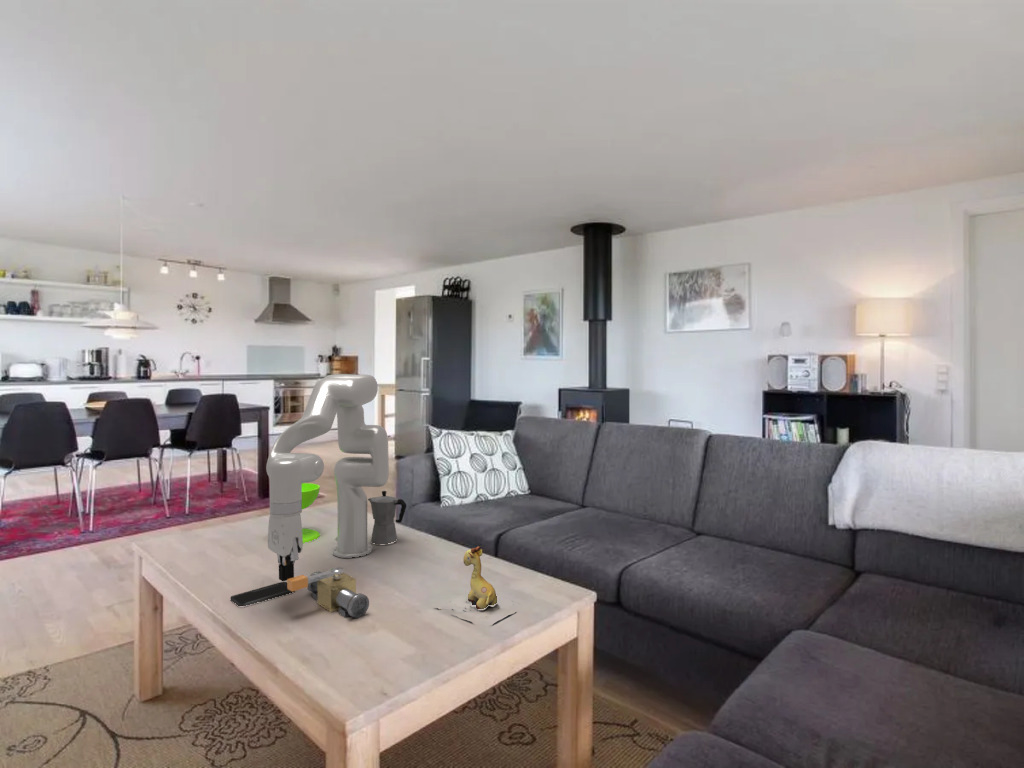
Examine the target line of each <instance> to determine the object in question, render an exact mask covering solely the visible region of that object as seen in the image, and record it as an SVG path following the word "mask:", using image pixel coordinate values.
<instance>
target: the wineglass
mask: <svg viewBox="0 0 1024 768" xmlns="http://www.w3.org/2000/svg"><path fill="white" fill-rule="evenodd" d="M320 489H321V486H320V484H316V483H312V482H307V483H302V510H304V509H306V508H308V507H310V506H311V505H312V504H314V502H315V501H316V500H317V498H318V496H319V494H320ZM319 536H320V537H321V534H320V532H319V531H317V530H315V529H310V528H302V537H303V544H306V543H305V542H308V543H310V542H309V541H311V542H313V541H312V540H314V539H316V540H318V539H319V538H320V537H319ZM318 537H319V538H318ZM317 538H318V539H317ZM314 541H315V540H314Z"/></svg>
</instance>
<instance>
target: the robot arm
mask: <svg viewBox="0 0 1024 768" xmlns="http://www.w3.org/2000/svg"><path fill="white" fill-rule="evenodd" d="M378 386H379V384H378V382H377V379H376V378H375V377H374V376H373V375H371V374H351V373H350V374H349V373H344V374H343V373H342V374H341V373H339V374H338V373H335V374H328V375H326V376H324V377H323V378H321V379H320V380H317V382H316V383H315V384H314V386H313V389H312V391H311V393H310V395H309V399H308V401H307V404H306V406H305V409H304V411H303V413H302V416H301V418H300V419H299V420H297V421H296V422H294V423H293V424H291V425H290V426H289V427H287V428H286V429H285V430H284V431H283V432H282V433H281V434H280V435H278V436H277V438H276V439H275V441H274V443H273V446H272V447H271V450H270V453H269V455H268V458H267V462H266V465H265V466H266V469H265V470H266V474H267V476H268V478H269V517H268V518H269V519H268V527H267V532H268V533H267V548H268V550H270V552H272V553H275V554H276V555H277V563H278V580H279V581H280V582H287V579H289V578H293V577H295V561H298V560H299V554H300V553H302V551H303V544H304V543H303V537H302V529H303V526H302V525H303V524H302V523H303V522H302V517H301V514H302V513H303V509H302V483H312V482H316V480H319V478H320V477H321V476H322V475H323V473H324V469H325V464H324V461H323V458H322V457H321V456H319V455H318V454H315V453H310V452H309V453H306V452H305V453H303V452H302V453H301V452H292V451H293V450H294V449H295V448H296V447H298V446H299V445H301V444H302V443H305V442H307V441H311V440H313V439H315V438H318V437H320V436H323V435H326V434H327V433H329V432H330V431H331V429H332V427H333V424H334V421H335V418H336V421H337V423H336V425H337V443H338V448H339V450H340V451H341V453H344V454H350V455H351V454H353V455H370V457H364V456H347V457H342V458H339V460H337V461H336V463H335V464H334V469H333V471H334V472H333V474H334V475H333V476H334V480H335V487H336V494H337V495H336V496H337V499H336V500H337V501H336V502H337V536H336V537H335V538H334V541H336V542H337V546H335V547H334V548H332V549H333V550H332V555H333V556H335V557H336V558H341V559H342V558H344V559H353V558H352V557H355V558H360V557H359V556H361V557H364V556H366V554H367V555H369V554H371V552H372V551H373V546H372V544H369V543H368V497H367V494H366V493H365V491H364V489H363V487H366V488H369V487H371V488H376V487H377V488H380V487H384V486H385V485H386V484H387V483H388V480H389V475H390V474H389V472H390V470H389V469H390V468H389V467H390V465H389V463H390V461H389V458H390V457H389V440H388V439H389V437H388V432H387V430H386V429H385V428H384V427H383V426H381V425H379V424H378V425H377V424H366V422H365V410H364V408H363V407H364V405H366V404H369V403H370V402H372V401H373V400H374V399H375V398H376V396H377V394H378V391H379V388H378Z"/></svg>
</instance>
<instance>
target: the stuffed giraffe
mask: <svg viewBox="0 0 1024 768" xmlns="http://www.w3.org/2000/svg"><path fill="white" fill-rule="evenodd" d="M482 555H483V549H482V548H481V546H477V547H474V548H470V549H468V550H466V551H465V552H464V555H463V559H462V560H463V564H464V566H467V567H469V566H470V565H473V569H472V572H471V576H470V577H471V578H470V582H469V583H470V590H469V592H468V593H469V594H468V600H467V601H468V603H472V605H476V610H477V609H484V608H486V607H487V606H488V605H494V604H496V603H497V596H496V594H497V593H496V590H495V588H494V586H493V585H492V584H491V583H490V582H489V581H487V580H486V579H485V578H484V577H483V576H482V575H481V574H482V563H481V562H482V561H481V556H482Z"/></svg>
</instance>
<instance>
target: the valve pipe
mask: <svg viewBox="0 0 1024 768" xmlns="http://www.w3.org/2000/svg"><path fill="white" fill-rule="evenodd" d="M323 572H324V571H323ZM323 572H322V571H319V570H317V571H315V572H313V573H311V575H309V576H312V575H316V574H319V573H323ZM356 581H357V578H355V577H352V576H351V575H349V574H347V573H345V572H343V574H342V575H340V576H332V577H329V578H325V579H322V580H318V581H315V582H311V583H308V587H306V588H307V590H308V591H309V592H310V593H311V598H312V597H313V598H312V599H314V598H315V599H314V600H315V601H317V600H318V601H317V605H318V604H319V605H318V606H320V605H321V606H320V607H322V608H323V607H324V608H323V609H325V610H326V609H327V610H326V611H328V610H329V611H328V612H330V613H333V611H334V612H336V611H335V610H337V611H338V615H340V614H341V616H342V617H343V616H344V618H348V617H351V618H354V619H357V618H358V619H359V618H362V617H363V616H364V615H365V614H366V613H367V612H368V610H369V607H370V599H369V597H368V596H367V595H366V594H363V593H357V582H356ZM347 616H348V617H347Z"/></svg>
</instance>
